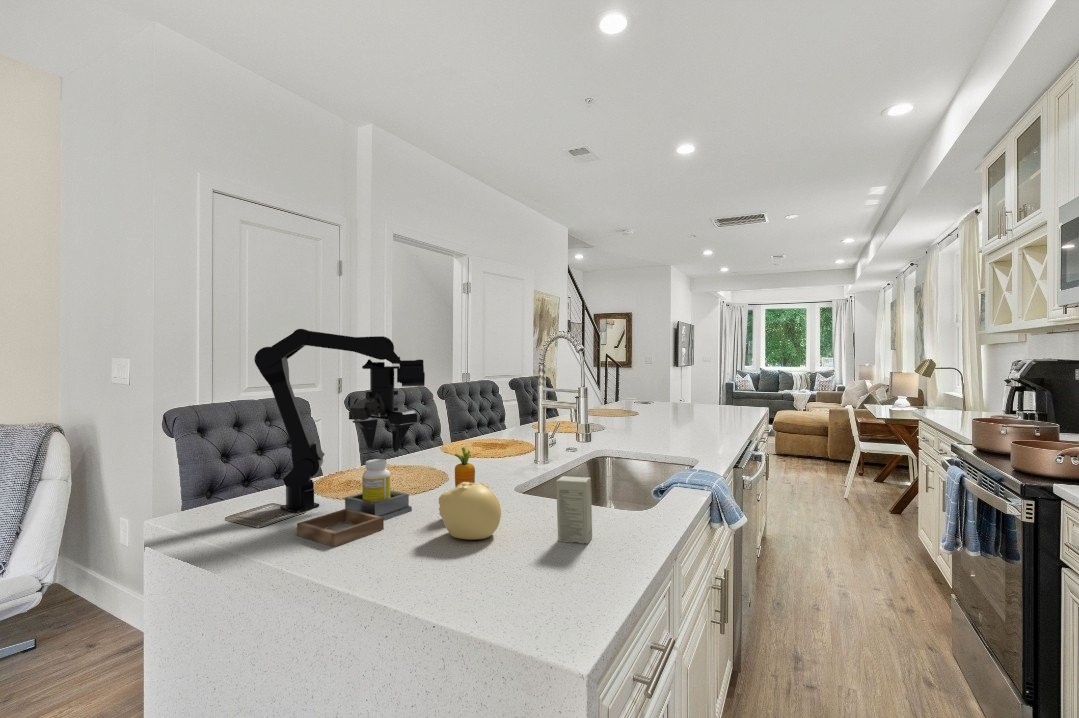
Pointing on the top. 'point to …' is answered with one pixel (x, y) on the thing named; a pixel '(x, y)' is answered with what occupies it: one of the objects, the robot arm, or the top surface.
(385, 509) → the dark metal seat block
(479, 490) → the sculpture
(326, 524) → the walnut collar
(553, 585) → the top surface
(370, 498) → the pill bottle
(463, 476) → the carrot
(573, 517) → the skincare box
